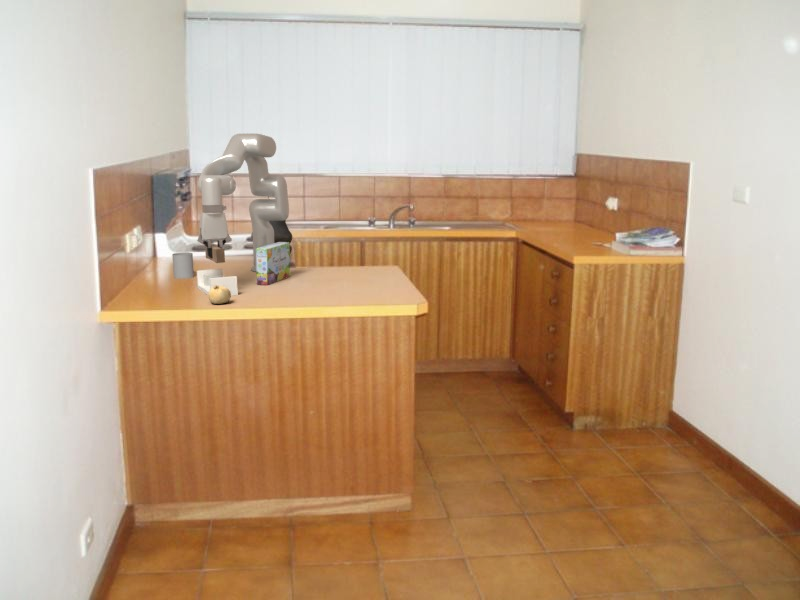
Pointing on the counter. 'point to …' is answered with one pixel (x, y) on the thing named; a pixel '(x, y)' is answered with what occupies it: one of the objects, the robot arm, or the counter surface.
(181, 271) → the cup
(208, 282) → the white bracket frame
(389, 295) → the counter surface
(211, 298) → the onion
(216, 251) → the tan bar
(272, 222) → the pitcher
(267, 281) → the snack box
